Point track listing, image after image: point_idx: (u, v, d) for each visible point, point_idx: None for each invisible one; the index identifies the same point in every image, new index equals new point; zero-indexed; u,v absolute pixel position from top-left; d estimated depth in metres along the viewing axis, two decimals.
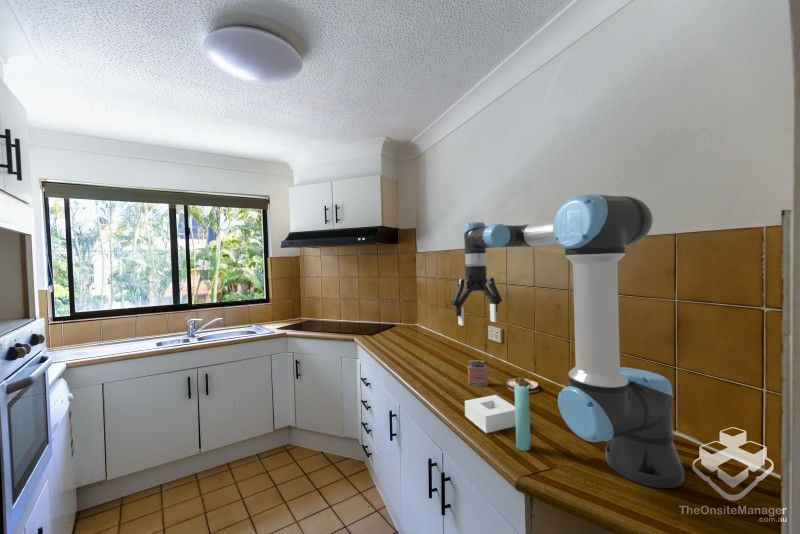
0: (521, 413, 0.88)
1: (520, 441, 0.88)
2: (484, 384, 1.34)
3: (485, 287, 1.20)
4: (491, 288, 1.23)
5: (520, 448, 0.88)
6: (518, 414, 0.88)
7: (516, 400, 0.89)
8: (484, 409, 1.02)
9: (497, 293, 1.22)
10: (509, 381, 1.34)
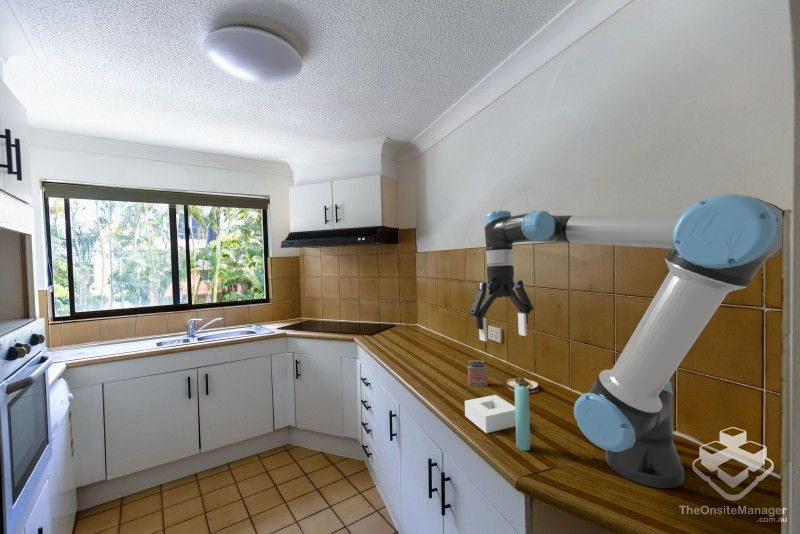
0: (521, 413, 0.88)
1: (520, 441, 0.88)
2: (484, 384, 1.34)
3: (512, 292, 0.96)
4: (519, 293, 0.99)
5: (520, 448, 0.88)
6: (518, 414, 0.88)
7: (516, 400, 0.89)
8: (484, 409, 1.02)
9: (527, 300, 0.98)
10: (509, 381, 1.34)
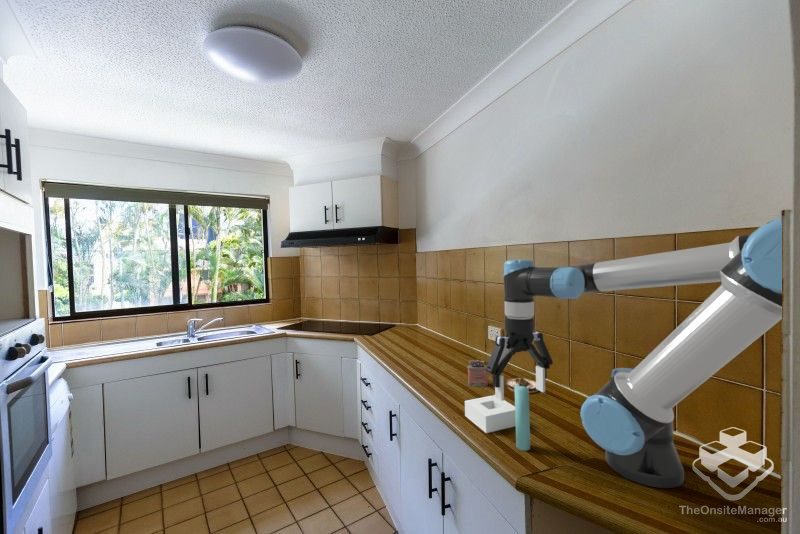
0: (521, 413, 0.88)
1: (520, 441, 0.88)
2: (484, 384, 1.34)
3: (532, 347, 0.89)
4: (538, 346, 0.92)
5: (520, 448, 0.88)
6: (518, 414, 0.88)
7: (516, 400, 0.89)
8: (484, 409, 1.02)
9: (547, 353, 0.91)
10: (509, 381, 1.34)
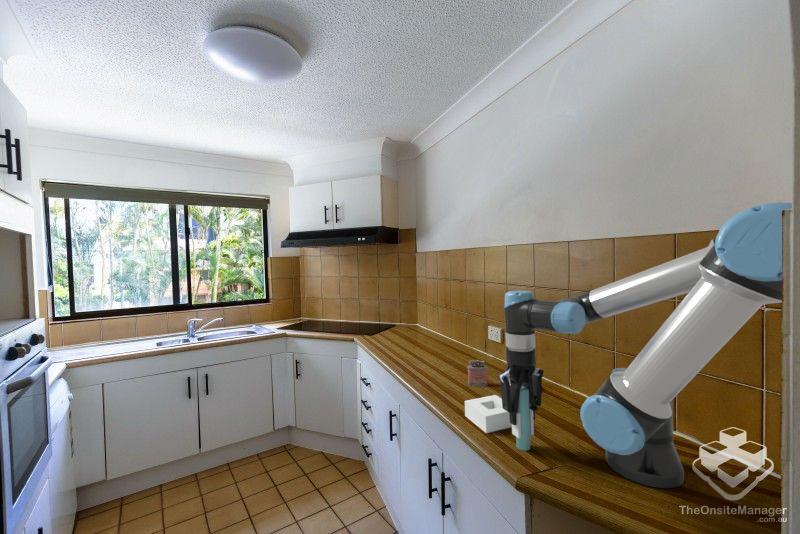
0: (521, 413, 0.88)
1: (521, 441, 0.88)
2: (484, 384, 1.34)
3: (530, 381, 0.88)
4: (534, 382, 0.91)
5: (520, 448, 0.88)
6: None
7: None
8: (484, 409, 1.02)
9: (539, 393, 0.90)
10: (509, 381, 1.34)
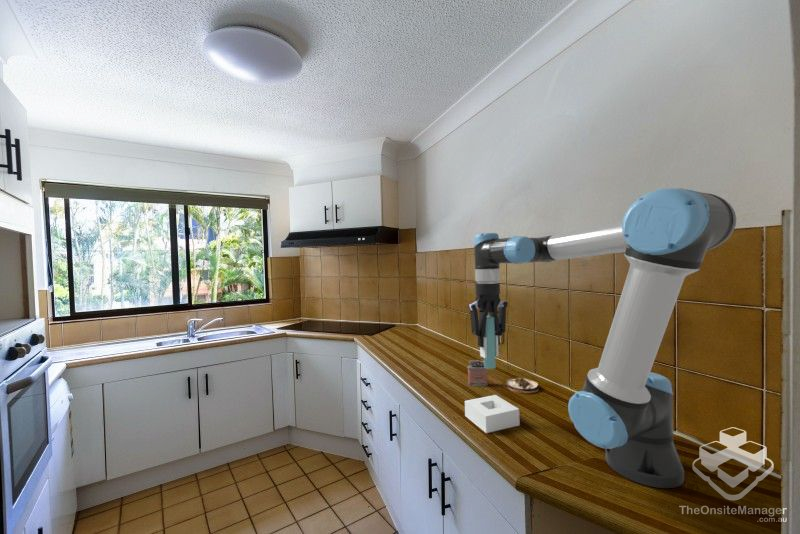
0: (487, 337, 1.03)
1: (487, 360, 1.03)
2: (484, 384, 1.34)
3: (495, 310, 1.03)
4: (499, 313, 1.06)
5: (486, 367, 1.03)
6: None
7: None
8: (484, 409, 1.02)
9: (504, 321, 1.05)
10: (509, 381, 1.34)
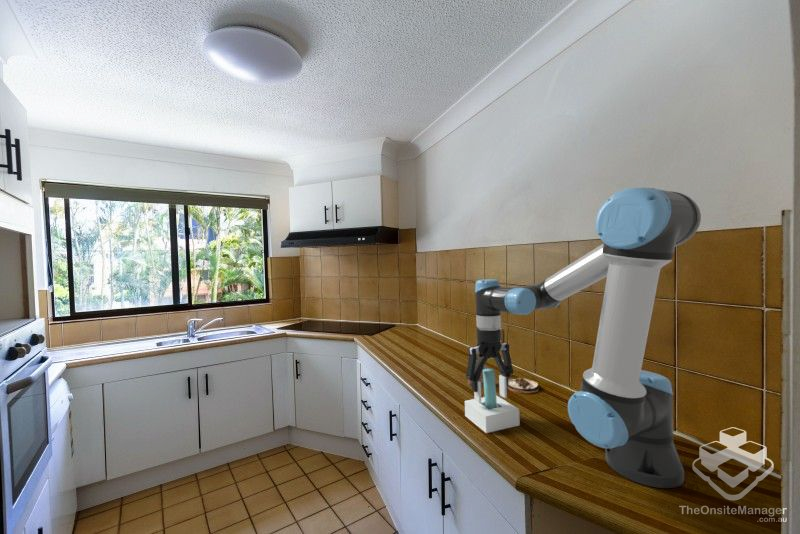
0: (488, 391, 1.03)
1: None
2: None
3: (498, 355, 1.04)
4: (504, 355, 1.07)
5: None
6: (486, 392, 1.04)
7: (484, 380, 1.04)
8: (484, 409, 1.02)
9: (509, 363, 1.06)
10: (509, 381, 1.34)
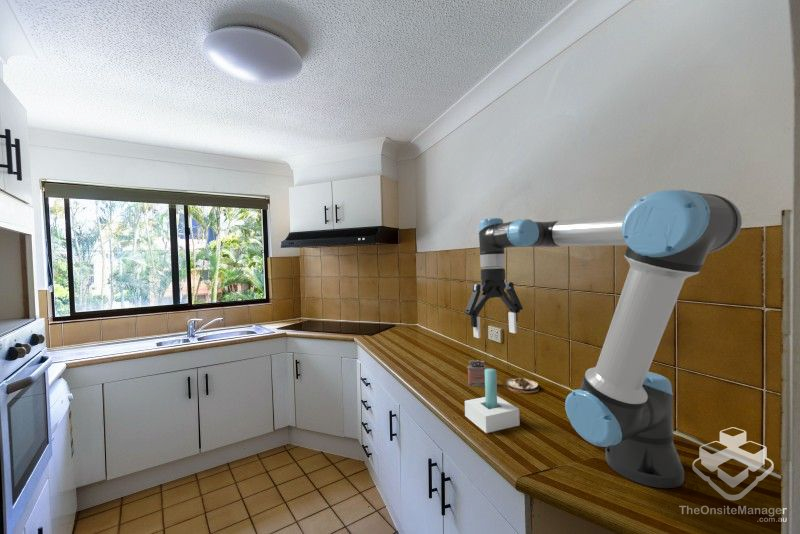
0: (489, 391, 1.03)
1: None
2: (484, 384, 1.34)
3: (504, 293, 1.04)
4: (510, 294, 1.07)
5: None
6: (487, 392, 1.04)
7: (485, 380, 1.04)
8: (484, 409, 1.02)
9: (517, 300, 1.06)
10: (509, 381, 1.34)
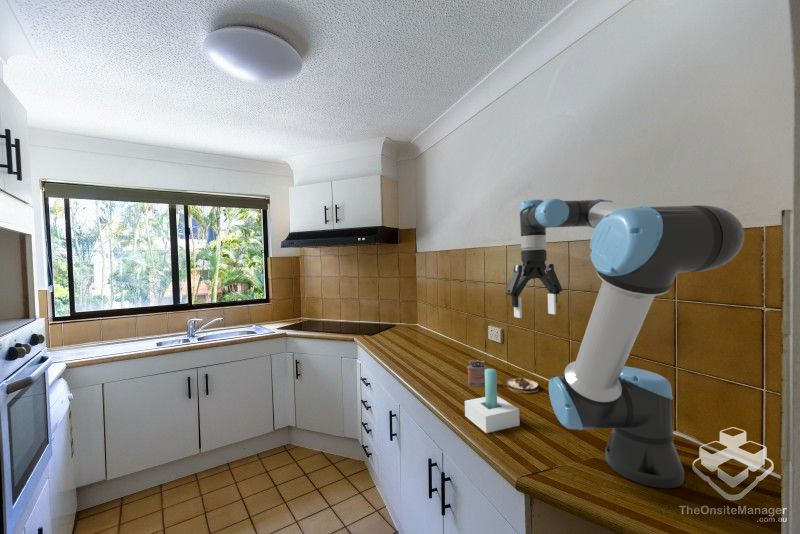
0: (489, 391, 1.03)
1: None
2: (484, 384, 1.34)
3: (544, 274, 1.05)
4: (550, 276, 1.08)
5: None
6: (487, 392, 1.04)
7: (485, 380, 1.04)
8: (484, 409, 1.02)
9: (557, 281, 1.07)
10: (509, 381, 1.34)
